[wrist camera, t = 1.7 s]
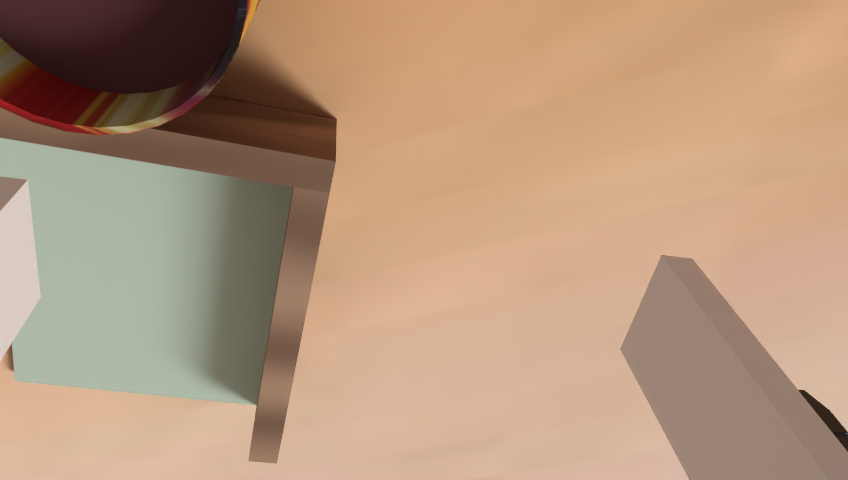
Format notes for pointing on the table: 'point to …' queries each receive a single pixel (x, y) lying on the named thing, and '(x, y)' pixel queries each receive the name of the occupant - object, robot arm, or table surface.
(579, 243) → the table surface
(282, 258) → the walls
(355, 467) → the table surface
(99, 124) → the mug
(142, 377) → the mat
